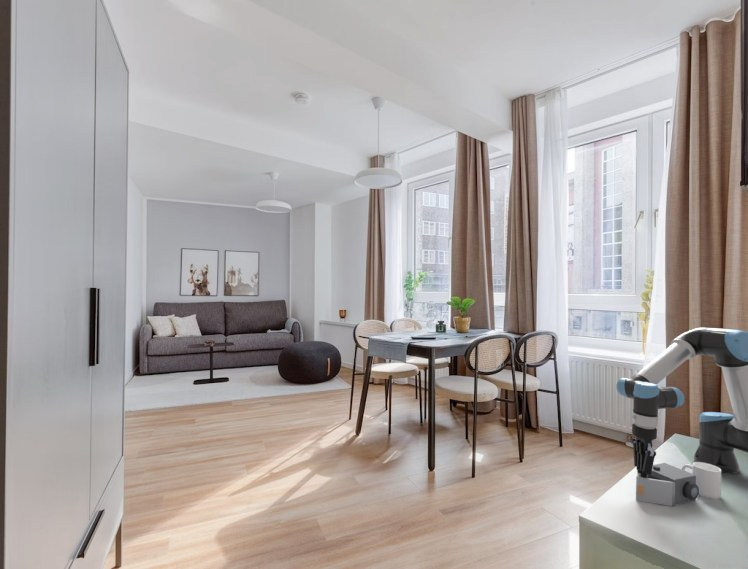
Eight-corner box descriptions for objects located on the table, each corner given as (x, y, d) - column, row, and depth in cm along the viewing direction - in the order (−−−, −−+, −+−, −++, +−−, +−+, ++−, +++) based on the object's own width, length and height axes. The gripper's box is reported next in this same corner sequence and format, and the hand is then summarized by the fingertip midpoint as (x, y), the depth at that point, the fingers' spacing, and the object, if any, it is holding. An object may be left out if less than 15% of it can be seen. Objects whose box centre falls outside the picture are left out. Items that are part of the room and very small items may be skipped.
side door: (635, 498, 143) (636, 476, 144) (673, 504, 140) (674, 481, 140) (637, 501, 142) (637, 478, 142) (675, 507, 138) (676, 484, 138)
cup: (717, 501, 144) (717, 473, 144) (677, 488, 153) (677, 461, 154) (723, 495, 149) (724, 468, 149) (684, 482, 158) (684, 456, 158)
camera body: (664, 486, 155) (664, 460, 155) (702, 503, 142) (703, 475, 142) (642, 490, 150) (642, 464, 150) (680, 508, 138) (680, 480, 138)
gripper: (625, 418, 152) (622, 480, 152) (641, 430, 139) (638, 497, 140) (647, 420, 151) (644, 482, 151) (665, 433, 138) (662, 500, 138)
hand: (641, 489), depth 145 cm, fingers closed
